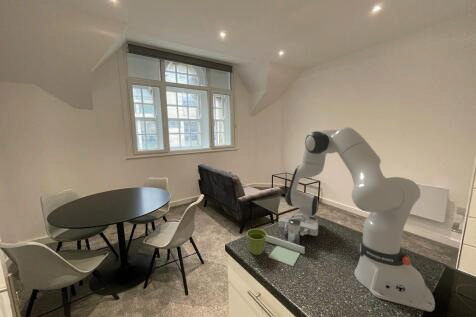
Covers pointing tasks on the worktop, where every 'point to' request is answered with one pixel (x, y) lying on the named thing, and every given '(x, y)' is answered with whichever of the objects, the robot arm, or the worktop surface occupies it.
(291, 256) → the pad
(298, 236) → the canister
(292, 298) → the worktop surface
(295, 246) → the wall
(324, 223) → the worktop surface
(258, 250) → the plant pot
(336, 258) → the worktop surface
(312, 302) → the worktop surface
